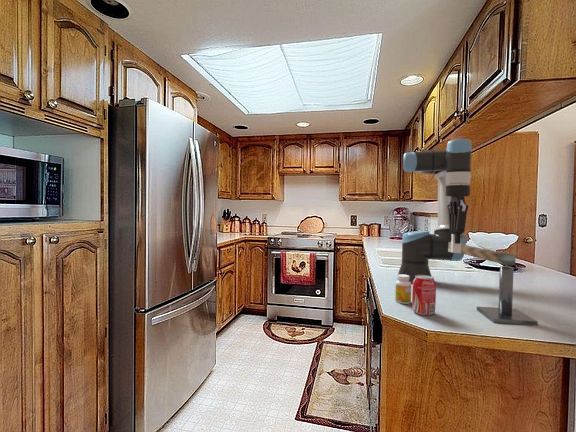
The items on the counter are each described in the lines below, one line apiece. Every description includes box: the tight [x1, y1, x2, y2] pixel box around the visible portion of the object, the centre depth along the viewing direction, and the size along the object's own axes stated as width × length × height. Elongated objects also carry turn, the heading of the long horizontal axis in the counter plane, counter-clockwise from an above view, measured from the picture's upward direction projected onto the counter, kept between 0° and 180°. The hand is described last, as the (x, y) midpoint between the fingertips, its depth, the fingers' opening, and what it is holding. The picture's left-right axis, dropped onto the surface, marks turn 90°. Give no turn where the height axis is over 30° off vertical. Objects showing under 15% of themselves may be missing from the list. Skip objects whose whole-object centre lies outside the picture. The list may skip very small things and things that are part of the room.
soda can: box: [411, 275, 437, 316], centre depth 105 cm, size 7×7×12 cm
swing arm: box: [448, 242, 517, 266], centre depth 115 cm, size 32×4×4 cm, turn 3°
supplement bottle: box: [394, 274, 412, 305], centre depth 117 cm, size 5×5×10 cm
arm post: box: [476, 265, 539, 326], centre depth 102 cm, size 12×12×16 cm
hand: (455, 252), depth 112 cm, fingers closed
